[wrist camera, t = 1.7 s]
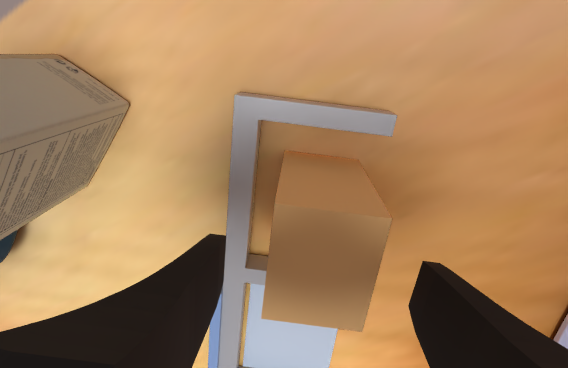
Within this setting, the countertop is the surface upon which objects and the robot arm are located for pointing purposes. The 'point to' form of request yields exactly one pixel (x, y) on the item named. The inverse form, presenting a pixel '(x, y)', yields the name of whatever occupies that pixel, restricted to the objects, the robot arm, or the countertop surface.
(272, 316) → the tan cardboard-colored block
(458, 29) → the countertop surface
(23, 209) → the skincare box
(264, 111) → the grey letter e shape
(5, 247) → the soda can
